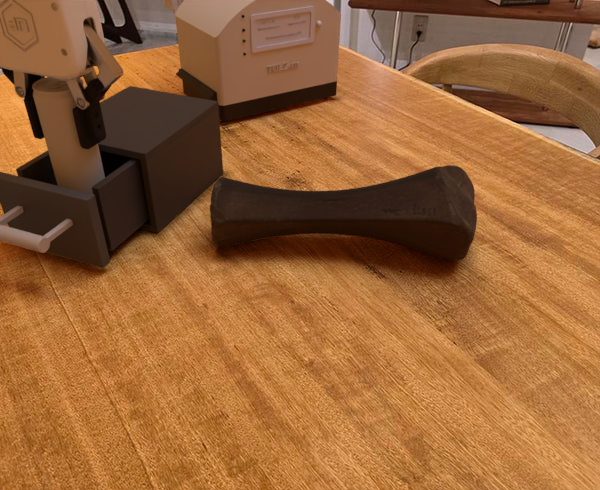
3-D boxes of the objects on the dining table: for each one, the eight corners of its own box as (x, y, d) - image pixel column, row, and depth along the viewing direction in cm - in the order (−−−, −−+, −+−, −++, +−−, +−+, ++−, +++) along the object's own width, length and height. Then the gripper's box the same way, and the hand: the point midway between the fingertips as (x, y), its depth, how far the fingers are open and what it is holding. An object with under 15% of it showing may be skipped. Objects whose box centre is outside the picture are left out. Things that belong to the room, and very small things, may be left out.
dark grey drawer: (71, 297, 56) (50, 226, 51) (-23, 268, 59) (-51, 199, 54) (179, 201, 70) (171, 139, 65) (99, 182, 73) (85, 122, 68)
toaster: (217, 129, 88) (208, 1, 77) (152, 79, 104) (137, -33, 93) (343, 99, 98) (350, -17, 87) (266, 58, 114) (264, -45, 103)
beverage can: (52, 203, 61) (18, 88, 54) (80, 182, 65) (53, 72, 57) (91, 212, 60) (63, 95, 53) (118, 190, 64) (95, 78, 56)
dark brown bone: (468, 253, 67) (227, 269, 70) (466, 159, 65) (218, 178, 68) (492, 266, 57) (206, 284, 59) (490, 154, 55) (195, 177, 57)
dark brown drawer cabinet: (157, 233, 66) (144, 153, 60) (66, 210, 69) (45, 132, 63) (223, 173, 77) (218, 101, 71) (141, 156, 81) (130, 85, 75)
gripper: (-102, -81, 46) (-25, 138, 58) (74, -64, 42) (120, 171, 53) (-28, -91, 52) (29, 111, 63) (135, -77, 47) (165, 138, 59)
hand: (70, 136), depth 58 cm, fingers closed on beverage can, 4 cm apart
